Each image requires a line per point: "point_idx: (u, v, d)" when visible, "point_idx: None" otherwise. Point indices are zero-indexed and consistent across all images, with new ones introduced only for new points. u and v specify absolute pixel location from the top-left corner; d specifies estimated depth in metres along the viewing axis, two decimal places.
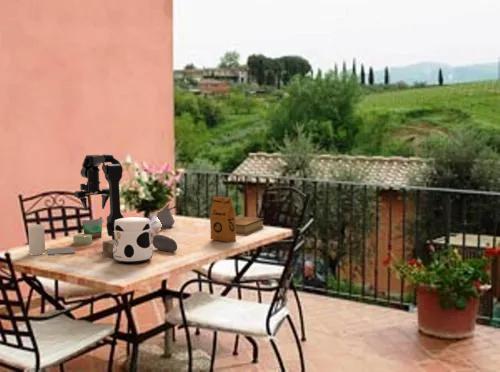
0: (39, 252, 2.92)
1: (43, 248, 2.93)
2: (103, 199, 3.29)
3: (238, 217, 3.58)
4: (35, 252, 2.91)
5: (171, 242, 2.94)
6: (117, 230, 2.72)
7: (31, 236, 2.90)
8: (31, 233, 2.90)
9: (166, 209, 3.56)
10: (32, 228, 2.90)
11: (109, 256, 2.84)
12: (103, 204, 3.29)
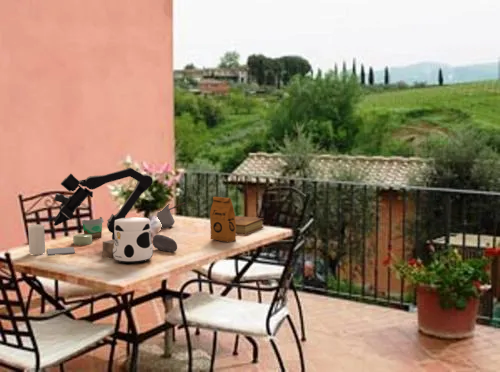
0: (39, 252, 2.92)
1: (43, 248, 2.93)
2: None
3: (238, 217, 3.58)
4: (35, 252, 2.91)
5: (171, 242, 2.94)
6: (117, 230, 2.72)
7: (31, 236, 2.90)
8: (31, 233, 2.90)
9: (166, 209, 3.56)
10: (32, 228, 2.90)
11: (109, 256, 2.84)
12: None
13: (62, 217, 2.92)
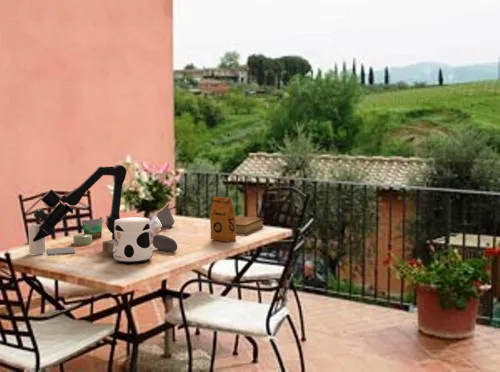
0: (39, 252, 2.92)
1: (43, 248, 2.93)
2: None
3: (238, 217, 3.58)
4: (35, 252, 2.91)
5: (171, 242, 2.94)
6: (117, 230, 2.72)
7: (31, 236, 2.90)
8: (31, 233, 2.90)
9: (166, 209, 3.56)
10: (32, 228, 2.90)
11: (109, 256, 2.84)
12: None
13: (42, 233, 2.89)
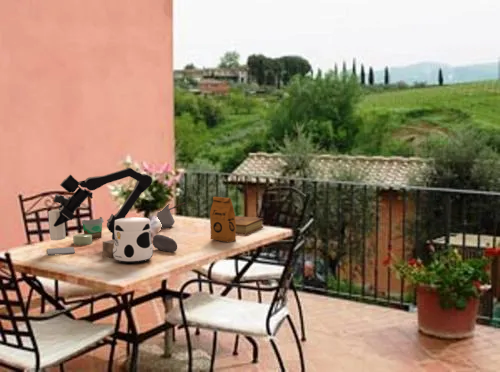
0: (60, 237, 2.94)
1: (63, 233, 2.96)
2: None
3: (238, 217, 3.58)
4: (56, 237, 2.93)
5: (171, 242, 2.94)
6: (117, 230, 2.72)
7: (51, 221, 2.92)
8: (51, 218, 2.92)
9: (166, 209, 3.56)
10: (52, 213, 2.92)
11: (109, 256, 2.84)
12: None
13: (62, 218, 2.91)
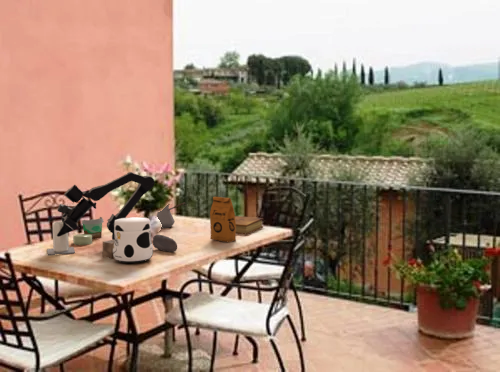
0: (63, 249, 2.95)
1: (67, 245, 2.97)
2: None
3: (237, 217, 3.58)
4: (59, 249, 2.94)
5: (171, 242, 2.94)
6: (117, 230, 2.72)
7: (55, 233, 2.94)
8: (55, 230, 2.93)
9: (166, 209, 3.56)
10: (56, 225, 2.93)
11: (109, 256, 2.84)
12: None
13: (65, 228, 2.92)
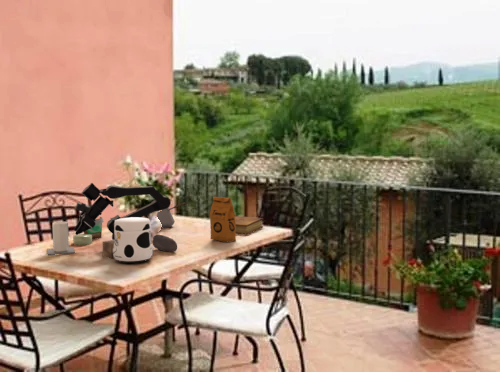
0: (63, 249, 2.95)
1: (67, 245, 2.97)
2: None
3: (237, 217, 3.58)
4: (59, 249, 2.94)
5: (171, 242, 2.94)
6: (117, 230, 2.72)
7: (55, 233, 2.94)
8: (55, 230, 2.93)
9: (166, 209, 3.56)
10: (56, 225, 2.93)
11: (109, 256, 2.84)
12: None
13: (84, 226, 2.94)
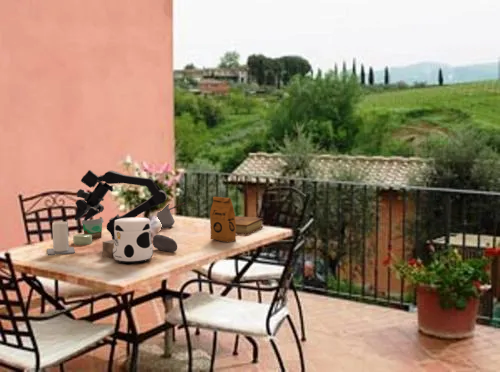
0: (63, 249, 2.95)
1: (67, 245, 2.97)
2: (91, 212, 3.08)
3: (237, 217, 3.58)
4: (59, 249, 2.94)
5: (171, 242, 2.94)
6: (117, 230, 2.72)
7: (55, 233, 2.94)
8: (55, 230, 2.93)
9: (166, 209, 3.56)
10: (56, 225, 2.93)
11: (109, 256, 2.84)
12: (89, 217, 3.08)
13: (80, 211, 2.98)
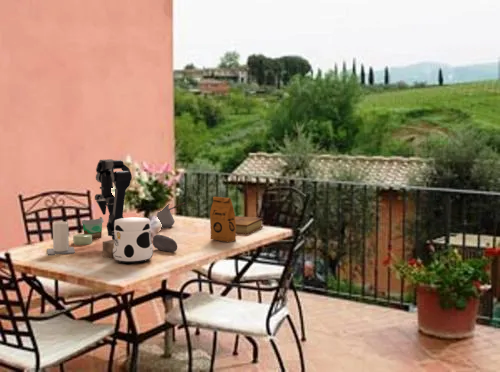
0: (63, 249, 2.95)
1: (67, 245, 2.97)
2: None
3: (237, 217, 3.58)
4: (59, 249, 2.94)
5: (171, 242, 2.94)
6: (117, 230, 2.72)
7: (55, 233, 2.94)
8: (56, 230, 2.93)
9: (166, 209, 3.56)
10: (57, 225, 2.93)
11: (109, 256, 2.84)
12: None
13: None
